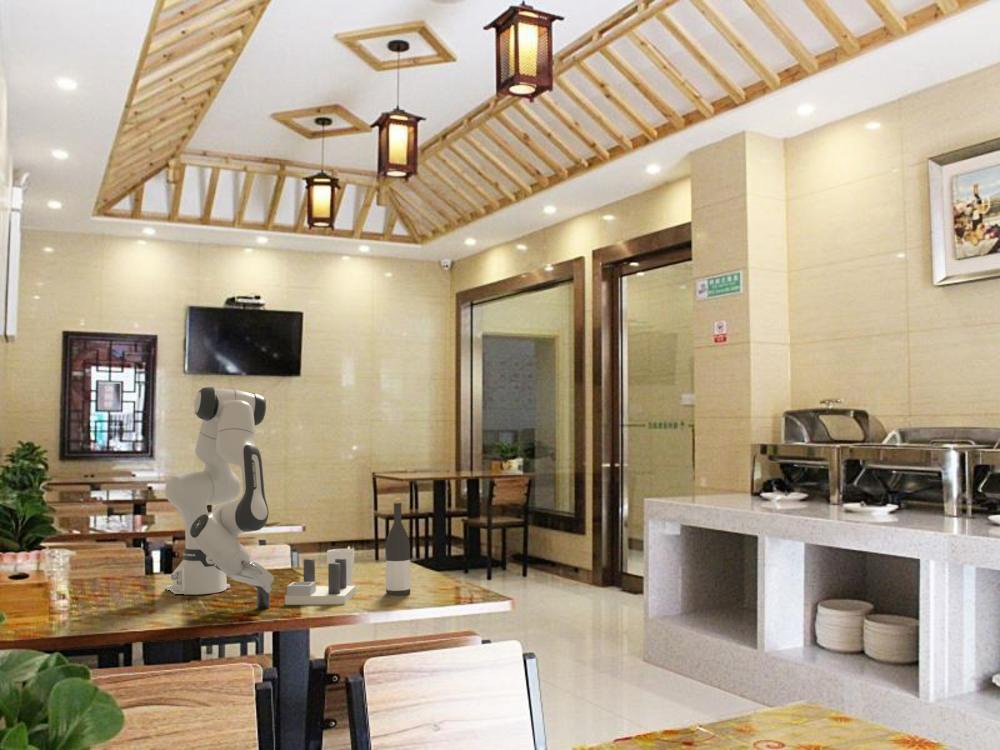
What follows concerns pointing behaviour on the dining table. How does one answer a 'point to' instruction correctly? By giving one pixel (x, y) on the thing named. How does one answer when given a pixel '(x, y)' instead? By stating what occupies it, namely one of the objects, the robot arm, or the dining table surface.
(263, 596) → the dark rounded cylinder
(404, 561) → the wine bottle
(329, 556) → the cup
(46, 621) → the dining table surface
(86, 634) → the dining table surface
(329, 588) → the white board with pegs
